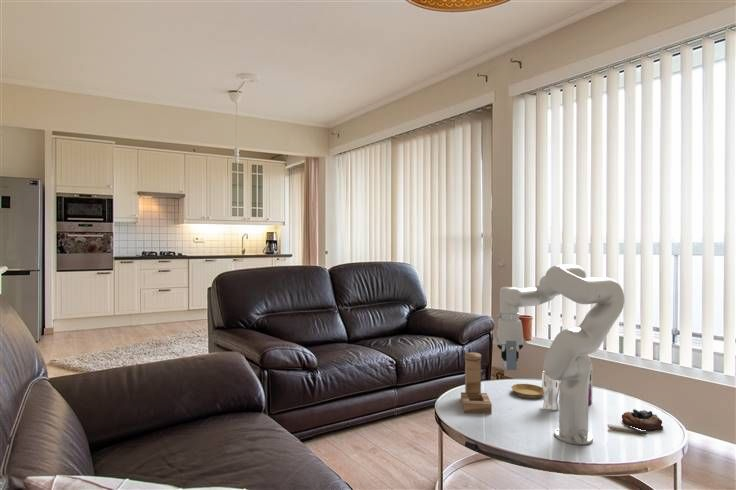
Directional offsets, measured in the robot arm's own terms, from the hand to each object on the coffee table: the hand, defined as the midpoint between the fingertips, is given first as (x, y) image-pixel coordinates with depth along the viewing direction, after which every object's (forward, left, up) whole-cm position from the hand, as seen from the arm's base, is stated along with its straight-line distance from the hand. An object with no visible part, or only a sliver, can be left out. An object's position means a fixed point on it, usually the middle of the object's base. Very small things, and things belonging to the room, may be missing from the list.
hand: (510, 359), depth 194 cm
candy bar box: (+10, -31, -21) cm, 38 cm away
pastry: (-14, -46, -21) cm, 52 cm away
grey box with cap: (0, 0, -3) cm, 3 cm away
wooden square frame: (+3, +14, -20) cm, 25 cm away
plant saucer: (+18, -12, -21) cm, 30 cm away
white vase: (+1, -17, -21) cm, 27 cm away
